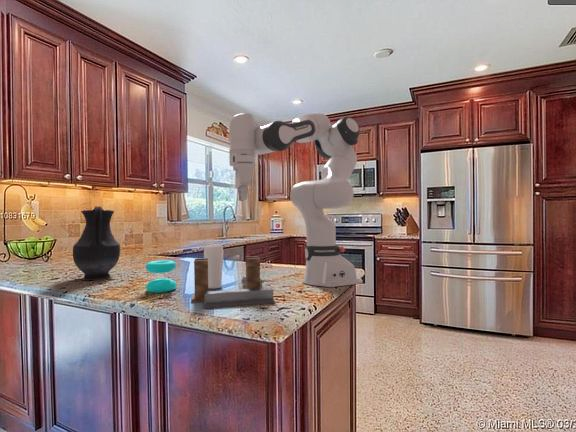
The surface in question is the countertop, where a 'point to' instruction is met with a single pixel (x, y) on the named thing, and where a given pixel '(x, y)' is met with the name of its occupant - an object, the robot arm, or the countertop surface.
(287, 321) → the countertop surface
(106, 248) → the pitcher
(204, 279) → the post
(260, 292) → the rail
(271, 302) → the grey flat bar
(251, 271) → the post
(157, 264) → the donuts
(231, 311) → the countertop surface
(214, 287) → the drinking glass
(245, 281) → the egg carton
